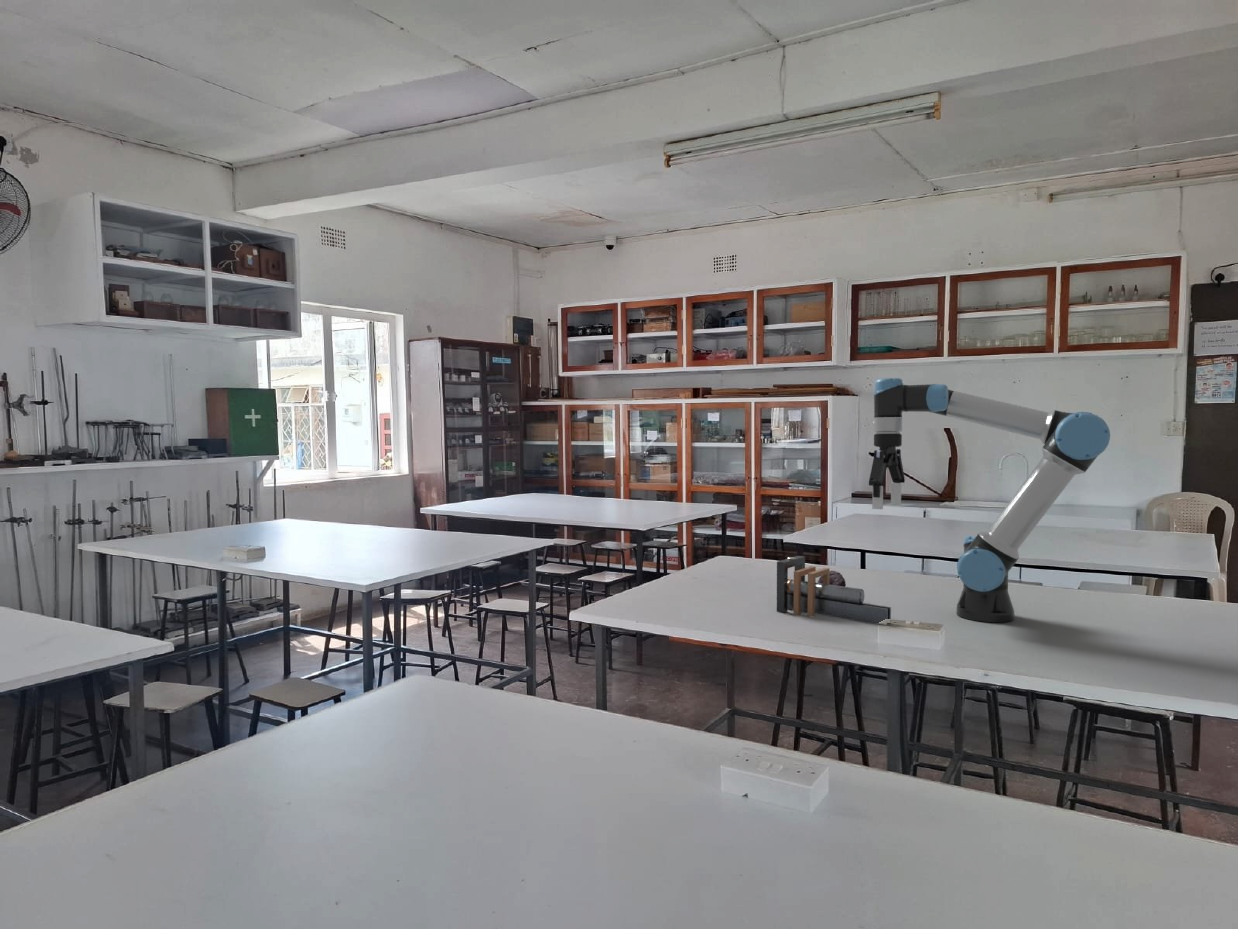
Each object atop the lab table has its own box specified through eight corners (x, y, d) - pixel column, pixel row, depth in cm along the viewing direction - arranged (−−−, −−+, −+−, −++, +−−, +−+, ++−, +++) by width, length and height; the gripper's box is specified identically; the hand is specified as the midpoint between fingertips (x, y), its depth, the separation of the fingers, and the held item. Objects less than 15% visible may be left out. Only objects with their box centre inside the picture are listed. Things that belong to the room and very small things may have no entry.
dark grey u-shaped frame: (804, 605, 243) (805, 555, 242) (784, 613, 233) (784, 561, 232) (797, 604, 245) (797, 554, 244) (776, 611, 235) (776, 560, 234)
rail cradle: (890, 623, 221) (890, 607, 221) (886, 625, 219) (886, 609, 218) (787, 606, 241) (787, 592, 241) (782, 608, 239) (782, 593, 239)
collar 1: (815, 607, 240) (815, 566, 239) (798, 614, 231) (798, 572, 231) (810, 606, 241) (811, 566, 240) (793, 613, 232) (793, 571, 232)
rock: (811, 605, 248) (843, 608, 243) (809, 579, 246) (842, 581, 242) (819, 592, 258) (850, 594, 254) (817, 567, 257) (849, 569, 252)
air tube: (864, 603, 226) (864, 587, 226) (858, 605, 223) (858, 590, 223) (788, 591, 242) (788, 577, 242) (781, 594, 238) (781, 579, 238)
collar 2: (829, 609, 237) (829, 568, 236) (812, 616, 229) (812, 573, 228) (824, 609, 238) (824, 567, 237) (807, 616, 230) (807, 573, 229)
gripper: (891, 432, 238) (890, 502, 239) (857, 433, 218) (856, 510, 220) (916, 432, 233) (915, 504, 234) (883, 433, 214) (882, 511, 215)
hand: (886, 507), depth 227 cm, fingers open, 13 cm apart
